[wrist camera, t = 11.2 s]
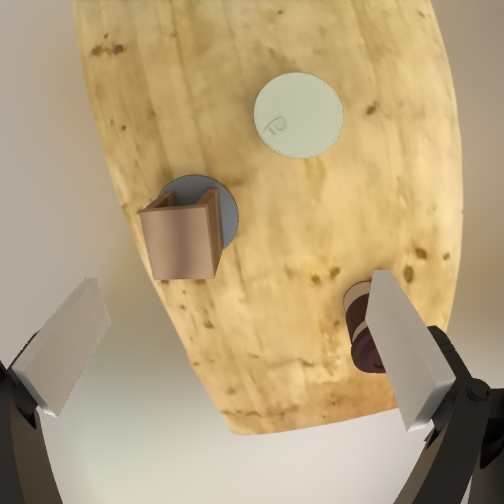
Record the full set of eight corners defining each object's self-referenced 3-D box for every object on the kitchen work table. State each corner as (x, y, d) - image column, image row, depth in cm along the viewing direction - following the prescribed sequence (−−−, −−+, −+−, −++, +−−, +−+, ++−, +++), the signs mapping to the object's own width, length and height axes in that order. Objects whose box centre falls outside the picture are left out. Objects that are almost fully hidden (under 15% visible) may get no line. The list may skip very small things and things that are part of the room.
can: (242, 107, 37) (234, 101, 26) (299, 73, 34) (312, 55, 24) (280, 160, 40) (286, 176, 29) (335, 127, 37) (361, 131, 27)
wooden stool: (174, 247, 46) (153, 279, 37) (165, 191, 42) (139, 212, 33) (224, 245, 45) (214, 278, 36) (218, 187, 41) (205, 207, 32)
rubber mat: (149, 179, 42) (148, 180, 41) (235, 171, 41) (234, 172, 40) (162, 257, 47) (161, 259, 47) (241, 254, 46) (241, 256, 46)
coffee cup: (337, 325, 52) (354, 387, 38) (333, 280, 48) (355, 341, 34) (387, 313, 50) (415, 370, 37) (388, 268, 46) (424, 322, 33)
